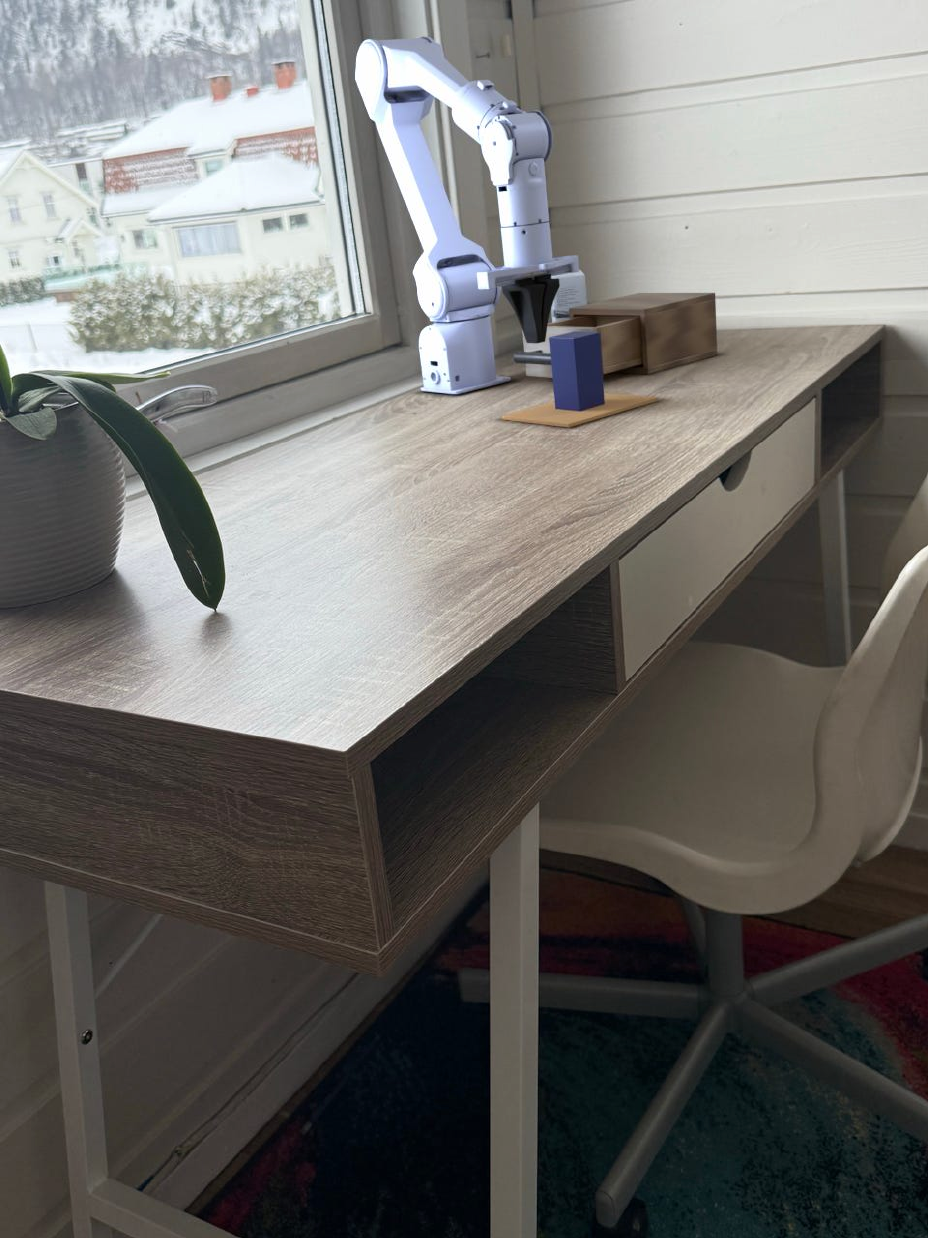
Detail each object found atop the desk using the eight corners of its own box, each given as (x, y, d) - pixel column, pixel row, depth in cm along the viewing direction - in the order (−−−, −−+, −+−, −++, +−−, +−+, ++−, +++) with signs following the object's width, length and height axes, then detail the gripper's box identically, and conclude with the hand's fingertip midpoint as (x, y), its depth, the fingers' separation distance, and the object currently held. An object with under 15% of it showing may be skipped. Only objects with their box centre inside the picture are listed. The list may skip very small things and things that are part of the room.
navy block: (579, 411, 127) (573, 338, 124) (554, 408, 130) (548, 337, 127) (605, 404, 129) (600, 331, 126) (580, 401, 132) (574, 330, 129)
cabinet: (648, 374, 146) (644, 309, 143) (573, 369, 156) (568, 308, 153) (717, 354, 153) (715, 292, 150) (642, 351, 163) (638, 292, 160)
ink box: (592, 358, 162) (585, 272, 158) (557, 362, 162) (550, 276, 158) (587, 350, 170) (581, 268, 166) (554, 354, 170) (547, 272, 166)
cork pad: (569, 427, 122) (568, 423, 121) (501, 419, 130) (501, 415, 130) (658, 400, 129) (658, 397, 129) (589, 394, 138) (589, 391, 137)
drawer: (568, 387, 138) (564, 334, 136) (502, 382, 148) (496, 332, 145) (662, 362, 148) (659, 312, 145) (593, 358, 157) (590, 311, 155)
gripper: (500, 230, 127) (512, 354, 132) (593, 215, 135) (601, 332, 140) (460, 233, 132) (474, 352, 137) (552, 218, 141) (561, 331, 145)
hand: (535, 342), depth 139 cm, fingers closed
